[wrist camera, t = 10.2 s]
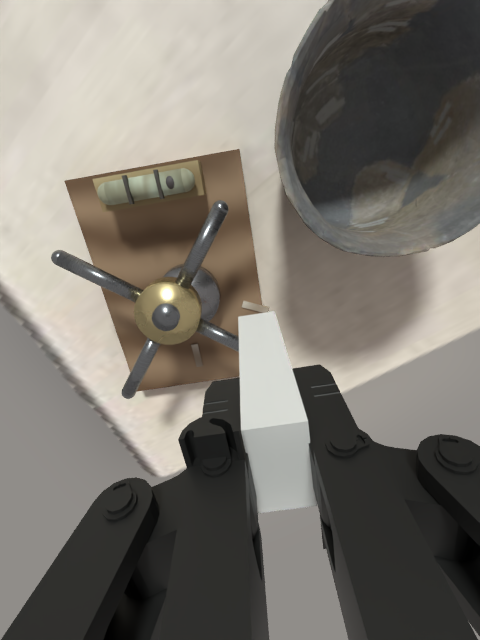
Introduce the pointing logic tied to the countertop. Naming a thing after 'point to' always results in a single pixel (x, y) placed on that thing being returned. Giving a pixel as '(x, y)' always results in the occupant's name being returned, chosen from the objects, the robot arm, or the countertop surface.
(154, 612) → the robot arm
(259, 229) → the countertop surface
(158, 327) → the cam capstan
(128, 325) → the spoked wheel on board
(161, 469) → the countertop surface
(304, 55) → the grey stone bowl
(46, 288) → the countertop surface
